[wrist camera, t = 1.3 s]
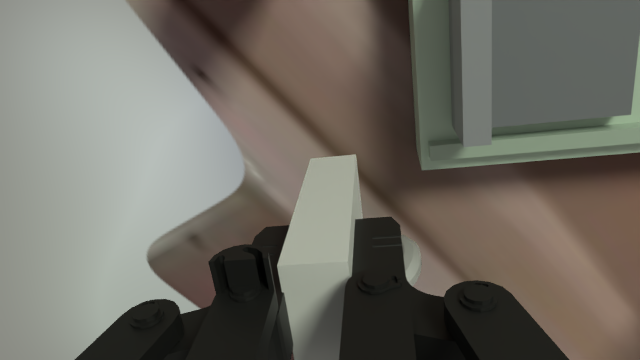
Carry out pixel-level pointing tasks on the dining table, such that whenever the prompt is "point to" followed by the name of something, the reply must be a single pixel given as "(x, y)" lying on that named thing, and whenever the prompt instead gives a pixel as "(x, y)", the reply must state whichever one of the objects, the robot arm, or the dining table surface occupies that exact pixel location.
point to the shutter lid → (539, 62)
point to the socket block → (507, 142)
